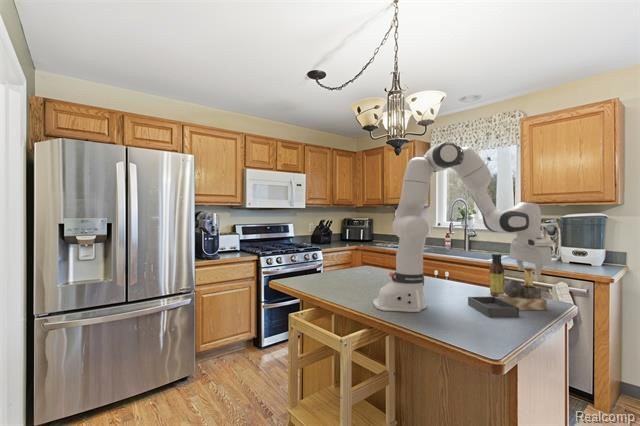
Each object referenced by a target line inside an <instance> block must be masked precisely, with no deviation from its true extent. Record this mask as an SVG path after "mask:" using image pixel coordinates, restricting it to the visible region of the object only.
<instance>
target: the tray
mask: <svg viewBox="0 0 640 426" xmlns="http://www.w3.org/2000/svg"><path fill="white" fill-rule="evenodd" d="M467 305H468V307H471V308H473V309H474V310H476V311H478V312H479V313H480V314H482V315H484V316H486V317H488V318H519V317H520V310H519V308H518V307H516V306H514V305H512V304H510V303H508V302H505V301H503V300H501V299H499V298H498V296H493V295H492V296H467Z"/></svg>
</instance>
